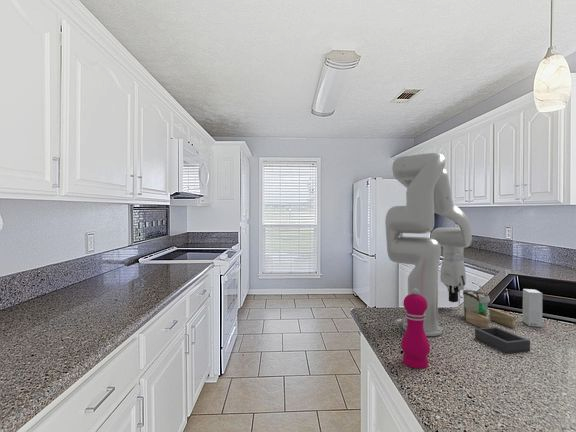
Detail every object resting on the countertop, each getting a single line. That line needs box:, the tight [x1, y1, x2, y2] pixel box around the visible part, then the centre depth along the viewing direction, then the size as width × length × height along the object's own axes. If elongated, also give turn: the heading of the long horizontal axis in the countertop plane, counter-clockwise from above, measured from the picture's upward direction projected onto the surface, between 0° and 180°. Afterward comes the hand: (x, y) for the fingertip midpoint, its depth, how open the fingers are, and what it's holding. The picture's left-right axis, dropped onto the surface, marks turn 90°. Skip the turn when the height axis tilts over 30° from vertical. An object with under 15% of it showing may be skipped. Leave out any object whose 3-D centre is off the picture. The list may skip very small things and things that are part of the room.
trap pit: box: [474, 326, 531, 354], centre depth 102 cm, size 8×12×3 cm, turn 12°
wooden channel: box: [465, 307, 516, 329], centre depth 120 cm, size 11×10×4 cm
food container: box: [462, 289, 491, 318], centre depth 125 cm, size 12×6×10 cm, turn 179°
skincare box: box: [522, 288, 543, 328], centre depth 120 cm, size 6×4×12 cm
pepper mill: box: [400, 288, 431, 370], centre depth 89 cm, size 7×7×20 cm
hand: (453, 301), depth 139 cm, fingers closed
